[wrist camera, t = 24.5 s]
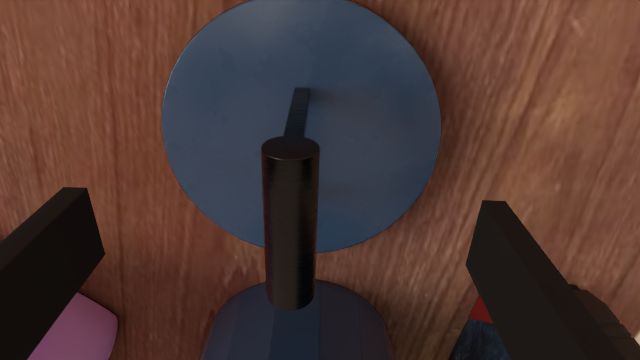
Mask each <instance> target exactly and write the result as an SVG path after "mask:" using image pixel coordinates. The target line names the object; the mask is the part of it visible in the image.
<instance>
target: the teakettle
mask: <svg viewBox="0 0 640 360" xmlns="http://www.w3.org/2000/svg"><path fill="white" fill-rule="evenodd" d="M117 328H118V319H117V317H116V316H115V315H114V314H113V313H111V312H110V311H109V310H107V309H106V308H104V307H102V306H101V305H99V304H97V303H96V302H94V301H92V300H90V299H89V298H87V297H85V296H83V295H82V294H80V293H78V292H77V293H76V294H75V296H74V297H73V298H72V300H71V301H70V302H69V304H68V305H67V306H66V308H65V309H64V311H63V312H62V313H61V315H60V316H59V317H58V319H57V320H56V321H55V323H54V324H53V325H52V327H51V328H50V330H49V331H48V332H47V334H46V335H45V336H44V338H43V339H42V340H41V342H40V343H39V344H38V346H37V347H36V348H35V350H34V351H33V353H32V354H31V355H30V357H29V358H28V359H27V360H108V359H109V357H110V354H111V352H112V349H113V346H114V343H115V338H116V333H117Z"/></svg>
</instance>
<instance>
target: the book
mask: <svg viewBox="0 0 640 360" xmlns="http://www.w3.org/2000/svg"><path fill="white" fill-rule="evenodd" d="M569 286H570V287H571V288H572V290H580V289H579V288H578V287H577V286H574V285H569ZM449 360H510V358H509V356H508V354H507V352H506V350H505V347H504V345H503V343H502V341H501V339H500V337H499V335H498V333H497V330H496V328H495V326H494V324H493V322H492V320H491V318H490V316H489V313H488V311H487V309H486V307H485V305H484V303H483V301H482V299H481V296H479V298H478V300H477V302H476V304H475V306H474V308H473V310H472V312H471V314H470V316H469V320H468V322H467V324H466V326H465V328H464V330H463V332H462V334H461V336H460V338H459V340H458V342H457V344H456V346H455V348H454V350H453V352H452V354H451V356H450V358H449Z"/></svg>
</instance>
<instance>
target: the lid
mask: <svg viewBox="0 0 640 360" xmlns="http://www.w3.org/2000/svg"><path fill="white" fill-rule="evenodd" d="M162 133H163V141H164V145H165V149H166V154H167V157H168V160H169V162H170V165H171V168H172V170H173V173H174V174H175V176H176V178H177V180H178V182H179V184H180V186H181V187H182V189H183V190H184V191H185V193H186V194H187V196H188V197H189V198H190V200H191V201H192V202H193V203H194V204H195V205H196V206H197V208H198V209H199V210H200V211H201V212H202V213H203V214H205V215H206V216H207V217H208V218H209V219H210V220H211V221H212V222H214V223H215V224H217V225H218V226H219V227H221V228H222V229H224V230H225V231H227V232H229V233H230V234H232V235H234V236H236V237H238V238H239V239H242V240H244V241H247V242H249V243H251V244H254V245H257V246H260V247H264V248H265V271H266V294H267V299H268V300H269V302H270V303H271V304H272V305H273V306H274V307H276V308H278V309H281V310H286V311H294V310H299V309H302V308H304V307H306V306H307V305H308V304H309V303H310V302H311V301H312V300H313V298H314V295H315V271H316V253H321V252H329V251H334V250H339V249H343V248H347V247H350V246H353V245H355V244H358V243H361V242H363V241H365V240H367V239H369V238H372V237H374V236H375V235H377V234H379V233H380V232H382V231H383V230H385V229H387V228H388V227H389V226H391V225H392V224H393V223H394V222H396V221H397V220H398V219H399V218H400V217H401V216H402V215H403V214H404V213H405V212H406V211H407V210H408V209H409V208H410V207H411V206H412V205H413V204H414V202H415V201H416V200H417V198H418V197H419V196H420V194H421V193H422V191H423V189H424V187H425V186H426V184H427V182H428V181H429V178H430V176H431V173H432V171H433V169H434V166H435V163H436V159H437V155H438V152H439V147H440V138H441V113H440V107H439V101H438V96H437V93H436V90H435V86H434V83H433V80H432V78H431V76H430V74H429V72H428V70H427V68H426V66H425V64H424V62H423V60H422V59H421V58H420V56H419V55H418V53H417V52H416V50H415V49H414V47H413V46H412V45H411V44H410V43H409V42H408V41H407V40H406V38H405V37H404V36H403V35H402V34H401V33H400V32H399V31H398V30H397V29H396V28H394V27H393V26H392V25H391V24H390V23H388V22H387V21H386V20H385V19H383V18H382V17H380V16H379V15H377V14H375V13H374V12H372V11H370V10H369V9H367V8H365V7H363V6H361V5H359V4H356V3H354V2H351V1H349V0H248V1H245V2H243V3H241V4H239V5H237V6H235V7H233V8H231V9H229V10H227V11H225V12H223V13H222V14H220V15H219V16H217V17H216V18H215V19H213V20H212V21H210V22H209V23H208V24H206V25H205V26H204V27H203V28H202V29H201V30H200V31H199V32H198V33H197V34H196V35H195V36H194V37H193V38H192V39H191V41H190V42H189V43H188V45H187V46H186V47H185V48H184V50H183V51H182V52H181V54H180V56H179V58H178V60H177V61H176V63H175V65H174V67H173V69H172V71H171V74H170V77H169V79H168V82H167V85H166V88H165V94H164V99H163V104H162Z"/></svg>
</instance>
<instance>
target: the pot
mask: <svg viewBox="0 0 640 360" xmlns="http://www.w3.org/2000/svg"><path fill="white" fill-rule="evenodd" d="M199 360H395V359H394V353H393V347H392V343H391V340H390V338H389V334H388V330H387V327H386V325H385V323H384V321H383V319H382V317H381V316H380V315H379V313H378V312H377V311H376V309H375V308H373V307H372V306H371V305H370V304H369V303H368V302H367V301H366V300H364V299H363V298H362V297H360V296H359V295H357V294H355V293H353V292H352V291H350V290H347V289H345V288H343V287H340V286H338V285H334V284H331V283H328V282H323V281H318V280H315V295H314V298H313V300H312V301H311V302H310V303H309V304H308V305H307V306H306V307H304V308H302V309H299V310H294V311H286V310H281V309H278V308H276V307H274V306H273V305H272V304H271V303H270V302H269V300H268V299H267V294H266V282H265V283H261V284H259V285H256V286H253V287H250V288H248V289H246V290H244V291H242V292H240V293H239V294H237V295H236V296H234V297H233V298H231V299H230V300H229V301H228V302H227V303H226V304H225V305H224V306H223V307H222V308H221V309H220V310H219V312H218V313H217V315H216V317H215V318H214V320H213V323H212V326H211V329H210V331H209V333H208V335H207V337H206V340H205V344H204V347H203V350H202V353H201V356H200V359H199Z"/></svg>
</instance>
